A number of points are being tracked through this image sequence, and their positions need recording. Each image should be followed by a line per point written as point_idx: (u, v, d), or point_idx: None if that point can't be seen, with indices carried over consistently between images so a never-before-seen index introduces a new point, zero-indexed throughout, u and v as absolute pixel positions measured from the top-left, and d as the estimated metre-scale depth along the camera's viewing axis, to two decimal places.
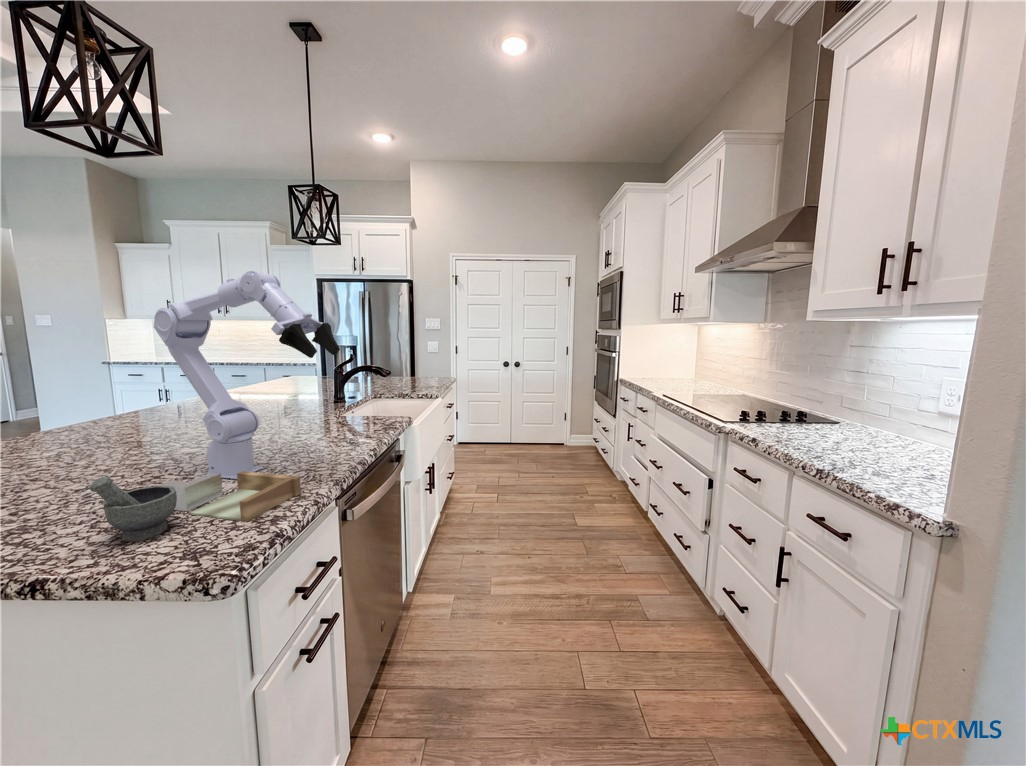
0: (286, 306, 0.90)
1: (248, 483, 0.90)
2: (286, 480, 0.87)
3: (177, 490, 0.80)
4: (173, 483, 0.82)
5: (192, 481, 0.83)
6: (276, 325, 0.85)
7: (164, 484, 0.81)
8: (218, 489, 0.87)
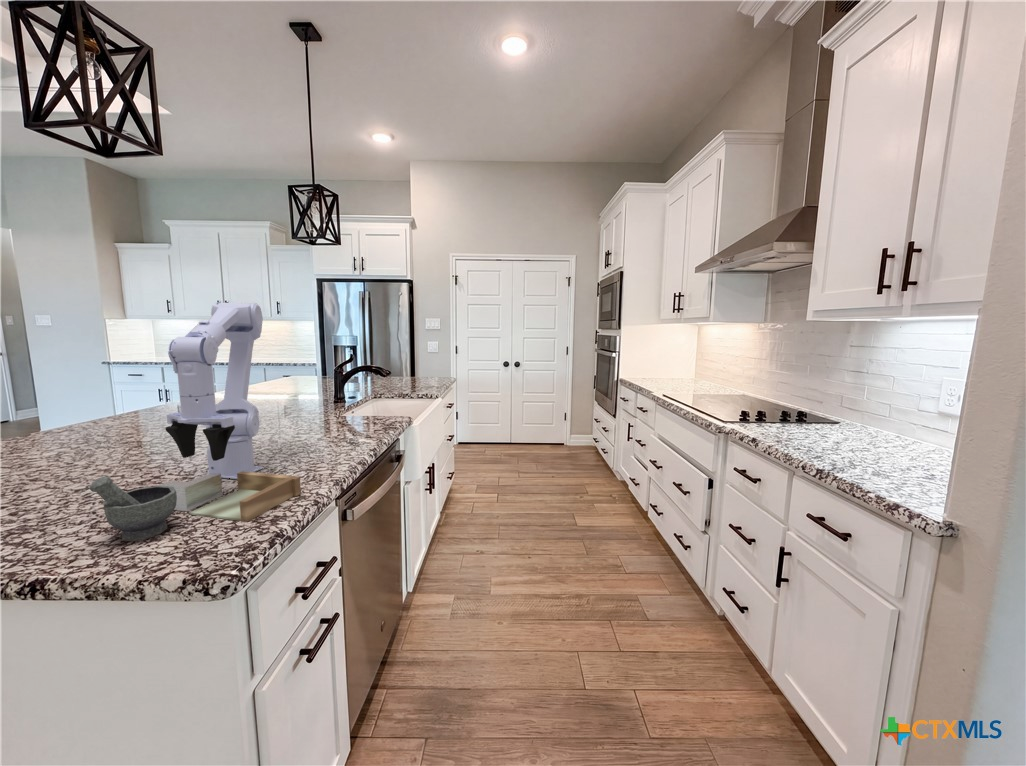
0: None
1: (248, 483, 0.90)
2: (286, 480, 0.87)
3: (177, 490, 0.80)
4: (173, 483, 0.82)
5: (192, 481, 0.83)
6: None
7: (164, 484, 0.81)
8: (218, 489, 0.87)
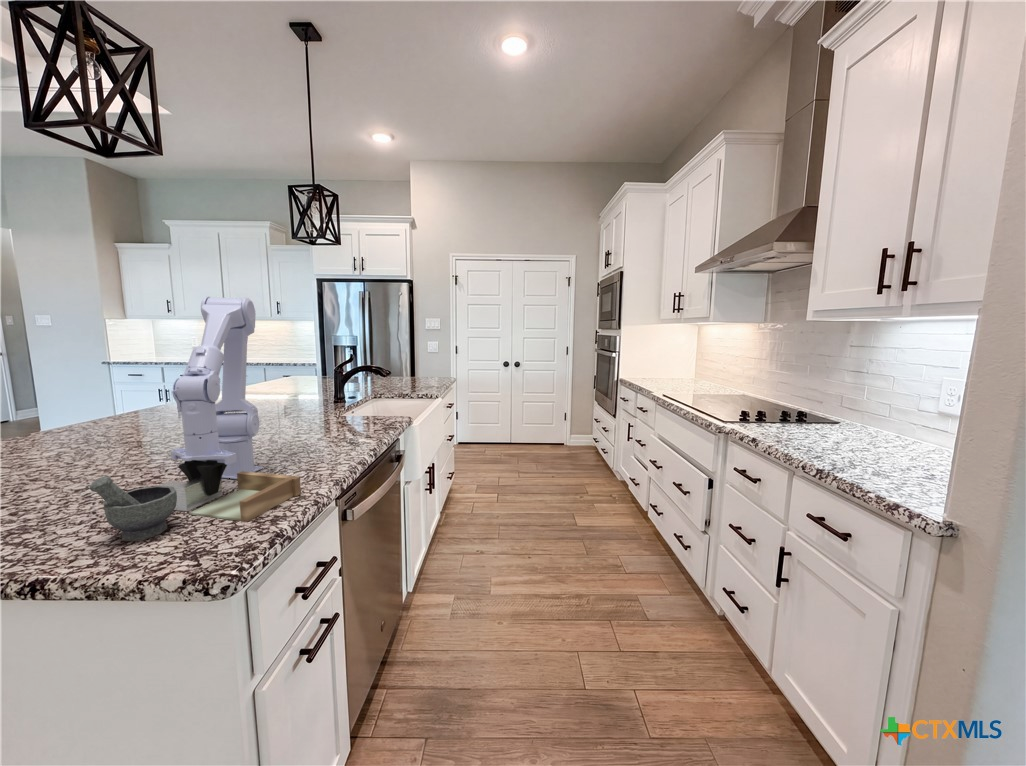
0: None
1: (248, 483, 0.90)
2: (286, 480, 0.87)
3: (177, 490, 0.80)
4: (173, 483, 0.82)
5: (192, 481, 0.83)
6: None
7: (164, 484, 0.81)
8: None
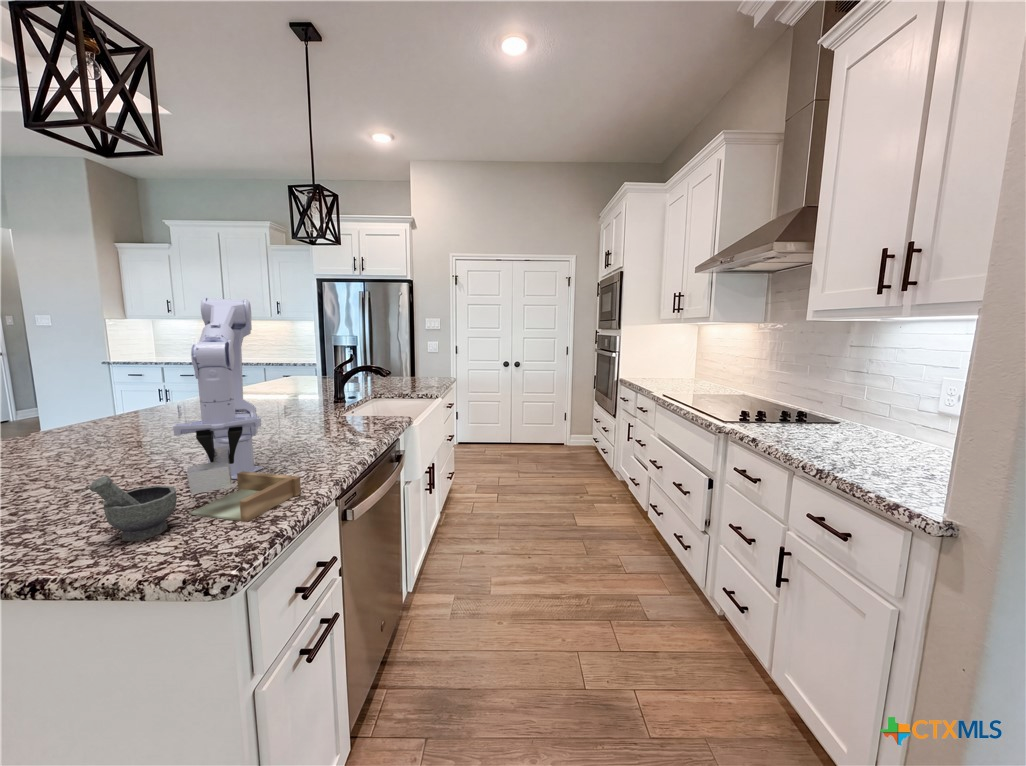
0: (206, 404, 0.80)
1: (248, 483, 0.90)
2: (286, 480, 0.87)
3: (217, 471, 0.79)
4: (200, 466, 0.78)
5: (218, 459, 0.81)
6: (173, 429, 0.79)
7: (192, 471, 0.77)
8: None
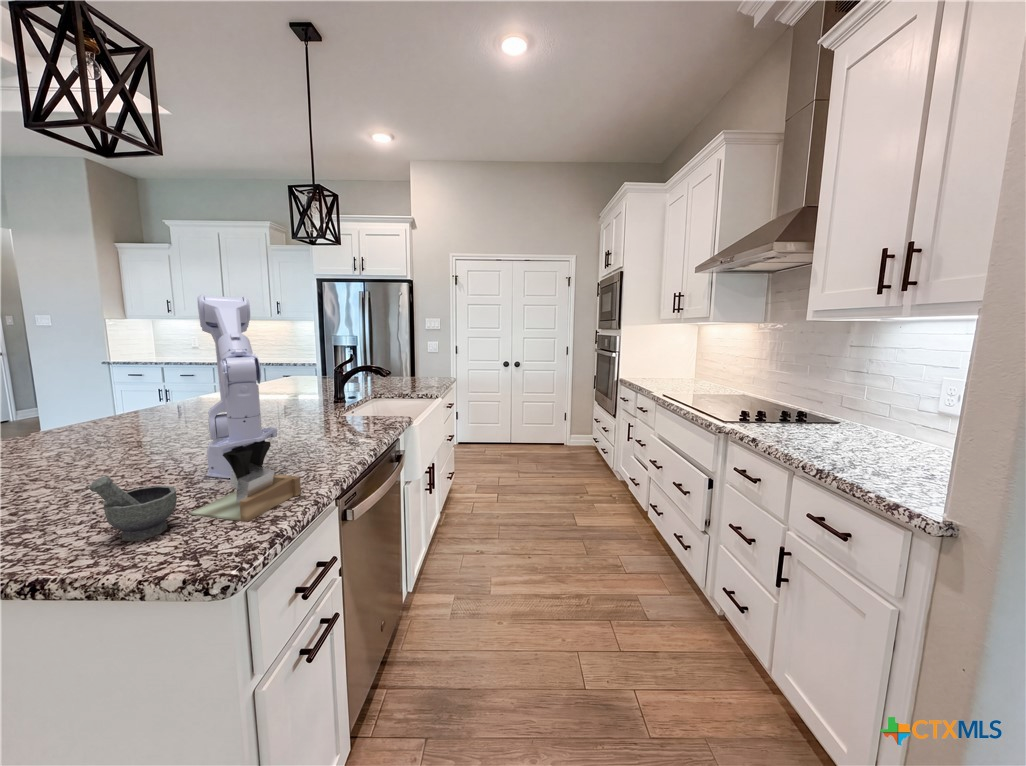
0: (245, 419, 0.80)
1: None
2: (286, 480, 0.87)
3: (267, 476, 0.82)
4: (250, 476, 0.80)
5: (255, 469, 0.83)
6: (216, 450, 0.76)
7: (250, 479, 0.79)
8: None
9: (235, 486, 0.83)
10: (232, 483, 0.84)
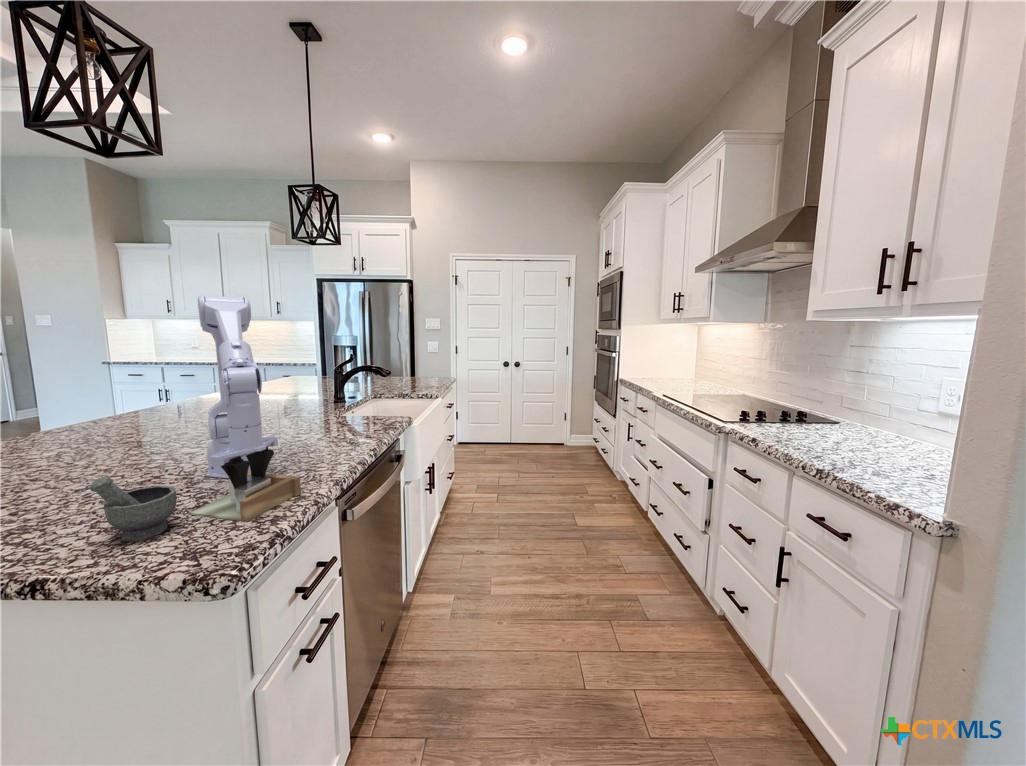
0: (246, 429, 0.81)
1: None
2: (286, 480, 0.87)
3: (264, 484, 0.83)
4: (246, 485, 0.80)
5: (252, 479, 0.84)
6: (217, 460, 0.76)
7: (246, 488, 0.79)
8: None
9: (235, 501, 0.84)
10: (232, 498, 0.84)
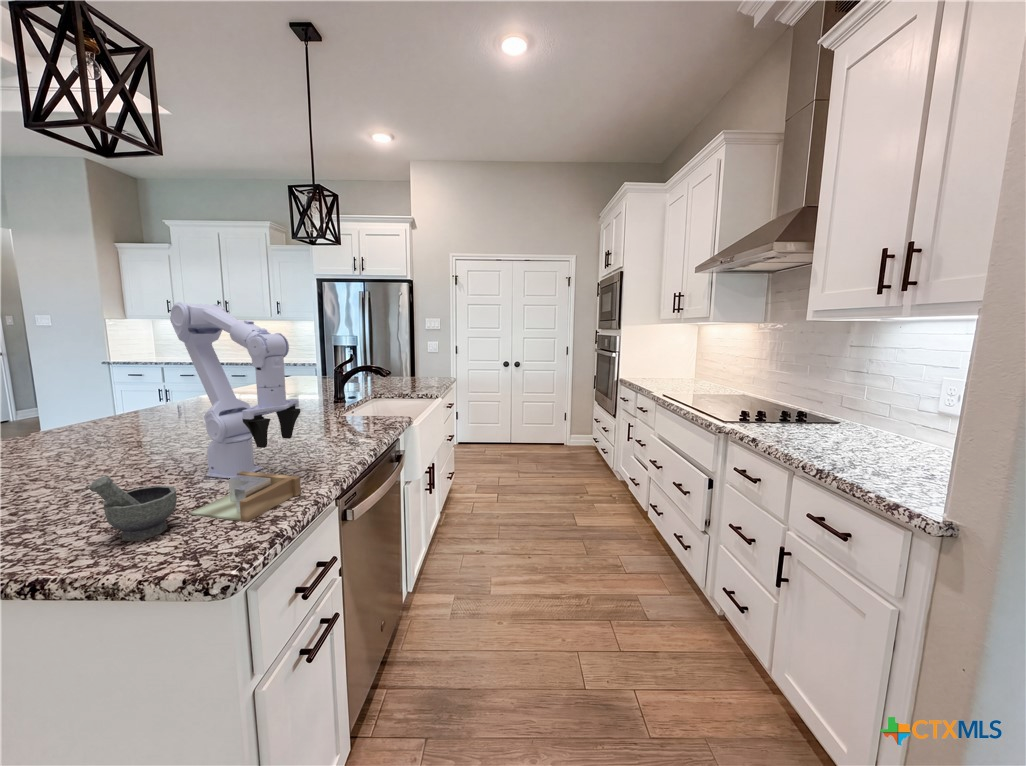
0: (272, 389, 0.91)
1: None
2: (286, 480, 0.87)
3: (264, 484, 0.83)
4: (246, 485, 0.80)
5: (252, 479, 0.84)
6: (248, 413, 0.87)
7: (246, 488, 0.79)
8: None
9: (235, 501, 0.84)
10: (232, 498, 0.84)
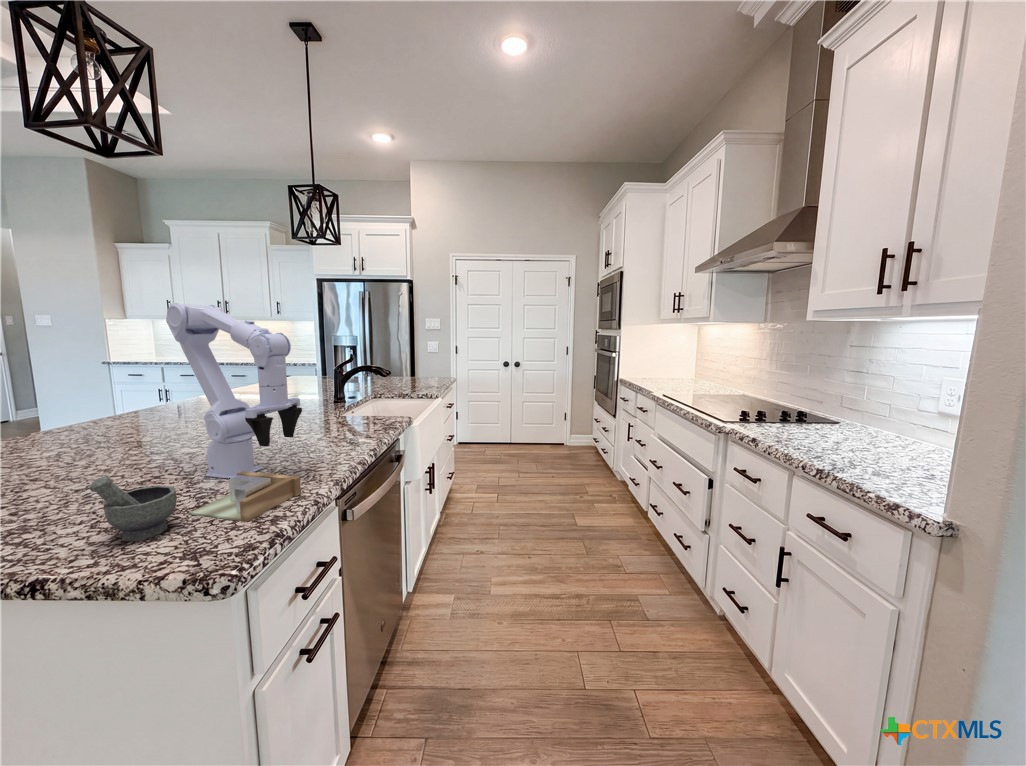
0: (275, 388, 0.92)
1: None
2: (286, 480, 0.87)
3: (264, 484, 0.83)
4: (246, 485, 0.80)
5: (252, 479, 0.84)
6: (251, 412, 0.87)
7: (246, 488, 0.79)
8: None
9: (235, 501, 0.84)
10: (232, 498, 0.84)
